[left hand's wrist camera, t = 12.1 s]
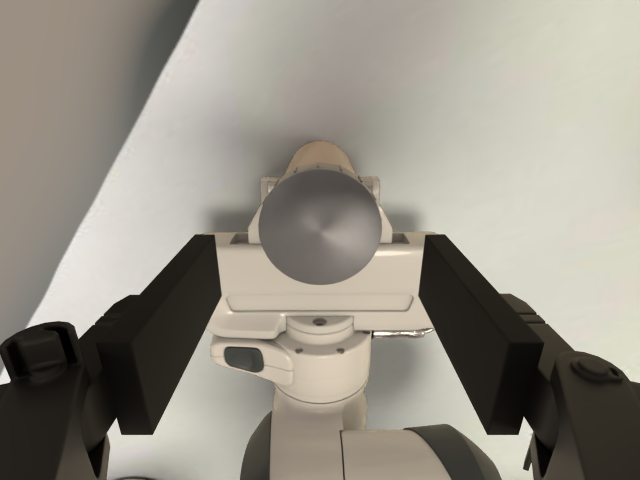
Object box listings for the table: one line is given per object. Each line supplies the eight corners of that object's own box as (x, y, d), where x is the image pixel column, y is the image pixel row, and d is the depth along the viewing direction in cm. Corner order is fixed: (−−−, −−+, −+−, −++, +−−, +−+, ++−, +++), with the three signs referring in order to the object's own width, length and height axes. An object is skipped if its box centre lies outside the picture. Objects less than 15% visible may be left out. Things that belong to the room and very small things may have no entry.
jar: (316, 126, 31) (313, 149, 17) (363, 169, 32) (397, 222, 18) (276, 176, 32) (244, 234, 18) (323, 214, 33) (326, 294, 20)
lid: (313, 134, 18) (312, 138, 16) (402, 212, 19) (410, 223, 18) (239, 225, 20) (232, 237, 18) (326, 290, 21) (327, 307, 20)
